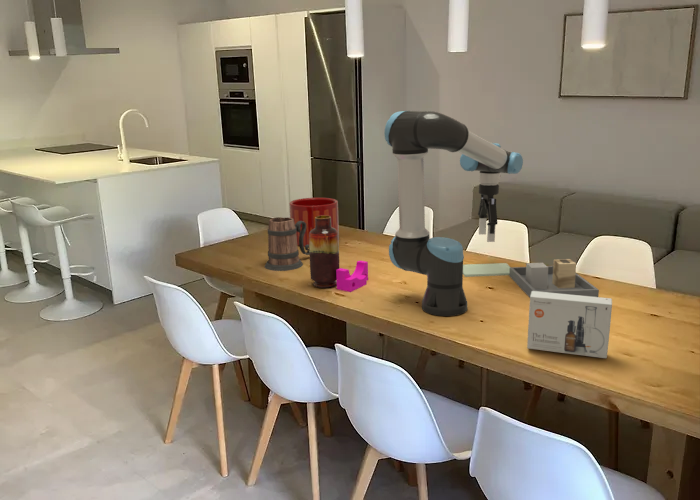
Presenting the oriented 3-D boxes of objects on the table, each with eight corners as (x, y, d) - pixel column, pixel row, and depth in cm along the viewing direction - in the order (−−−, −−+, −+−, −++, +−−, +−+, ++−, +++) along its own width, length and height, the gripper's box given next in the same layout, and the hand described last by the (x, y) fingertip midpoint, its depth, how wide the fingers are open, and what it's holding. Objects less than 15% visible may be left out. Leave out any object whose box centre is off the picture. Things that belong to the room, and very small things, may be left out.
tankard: (279, 273, 253) (276, 225, 248) (255, 266, 266) (252, 219, 261) (324, 262, 268) (322, 216, 263) (300, 255, 281) (298, 211, 276)
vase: (307, 282, 242) (304, 215, 235) (334, 278, 245) (332, 212, 239) (315, 290, 232) (313, 221, 225) (344, 286, 235) (342, 218, 229)
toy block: (350, 292, 230) (349, 272, 228) (336, 289, 233) (336, 269, 231) (373, 281, 241) (373, 262, 239) (360, 278, 245) (359, 260, 243)
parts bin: (598, 299, 214) (598, 289, 213) (534, 302, 213) (534, 292, 213) (565, 274, 243) (566, 265, 242) (509, 276, 242) (509, 267, 242)
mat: (516, 275, 244) (516, 272, 243) (465, 277, 243) (465, 274, 243) (506, 265, 257) (506, 263, 257) (457, 267, 256) (457, 264, 256)
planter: (320, 251, 287) (319, 207, 282) (281, 245, 299) (279, 203, 294) (348, 240, 305) (347, 199, 300) (310, 235, 318) (308, 196, 313)
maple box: (574, 287, 225) (576, 263, 223) (558, 288, 225) (559, 263, 223) (568, 282, 231) (570, 258, 229) (552, 283, 231) (553, 259, 229)
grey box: (547, 288, 225) (548, 267, 223) (530, 289, 225) (531, 267, 223) (541, 283, 231) (542, 262, 229) (525, 284, 231) (526, 263, 229)
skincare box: (526, 349, 176) (529, 295, 172) (528, 342, 181) (531, 289, 177) (607, 359, 168) (612, 303, 164) (607, 351, 173) (612, 297, 169)
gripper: (507, 188, 229) (504, 244, 234) (490, 179, 253) (487, 231, 258) (487, 188, 229) (484, 245, 234) (472, 179, 253) (469, 231, 258)
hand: (486, 237), depth 246 cm, fingers open, 13 cm apart
